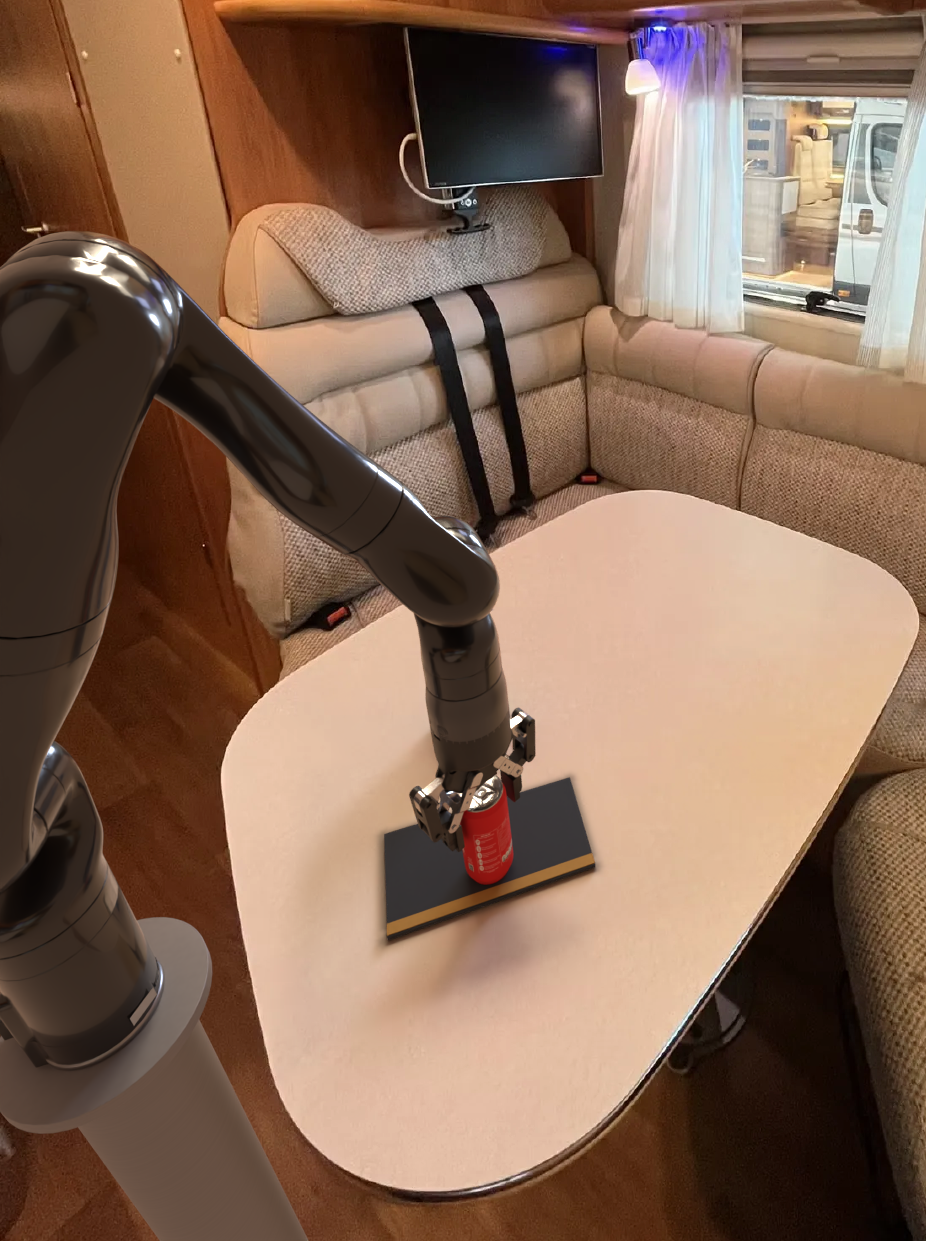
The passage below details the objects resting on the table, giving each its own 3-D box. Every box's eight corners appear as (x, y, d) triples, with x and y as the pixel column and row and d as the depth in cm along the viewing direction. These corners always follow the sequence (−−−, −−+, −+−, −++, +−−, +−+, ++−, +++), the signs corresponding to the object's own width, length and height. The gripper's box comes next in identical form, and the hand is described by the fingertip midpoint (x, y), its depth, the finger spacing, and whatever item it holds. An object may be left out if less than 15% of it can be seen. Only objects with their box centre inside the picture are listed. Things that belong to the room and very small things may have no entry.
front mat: (387, 940, 74) (386, 937, 74) (384, 836, 84) (383, 833, 84) (595, 867, 82) (595, 863, 81) (570, 779, 92) (569, 776, 91)
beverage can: (490, 897, 78) (479, 822, 73) (456, 872, 80) (443, 798, 75) (523, 858, 82) (515, 784, 77) (490, 835, 84) (480, 762, 79)
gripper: (502, 649, 77) (514, 757, 85) (379, 733, 67) (404, 848, 75) (550, 683, 73) (558, 793, 81) (427, 779, 63) (449, 895, 70)
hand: (484, 819), depth 78 cm, fingers open, 6 cm apart
